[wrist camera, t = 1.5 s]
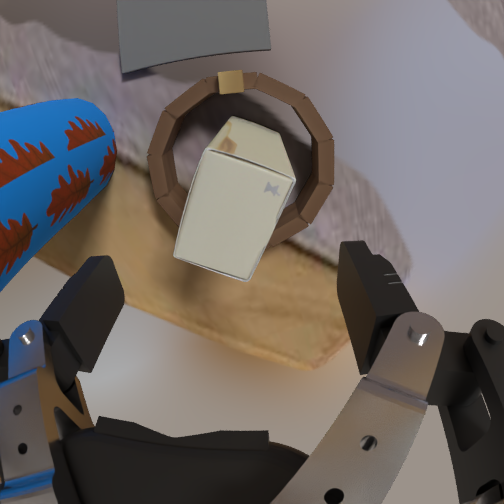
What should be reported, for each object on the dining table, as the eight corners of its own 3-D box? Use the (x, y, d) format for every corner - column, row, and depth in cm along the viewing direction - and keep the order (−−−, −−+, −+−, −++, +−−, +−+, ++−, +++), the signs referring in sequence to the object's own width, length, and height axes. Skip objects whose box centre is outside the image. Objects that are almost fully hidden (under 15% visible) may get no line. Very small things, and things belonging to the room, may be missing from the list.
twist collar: (176, 239, 28) (166, 261, 25) (149, 87, 21) (132, 88, 18) (324, 230, 27) (333, 251, 24) (322, 70, 20) (334, 67, 17)
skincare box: (230, 114, 22) (205, 137, 12) (281, 132, 23) (302, 172, 12) (205, 183, 25) (168, 260, 15) (252, 200, 26) (249, 286, 16)
